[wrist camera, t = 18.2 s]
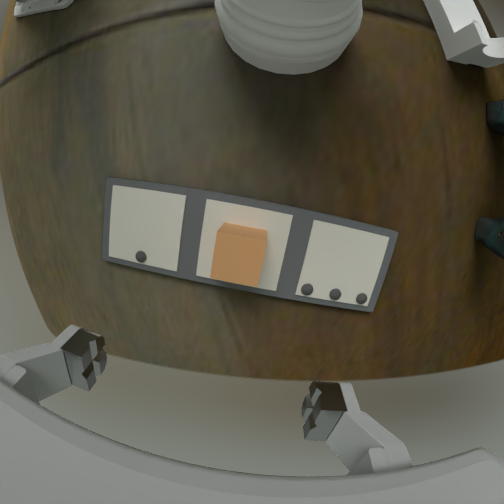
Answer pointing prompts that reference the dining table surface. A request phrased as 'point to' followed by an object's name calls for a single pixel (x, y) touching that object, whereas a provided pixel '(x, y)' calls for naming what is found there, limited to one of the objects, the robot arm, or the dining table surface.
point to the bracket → (464, 33)
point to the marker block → (238, 254)
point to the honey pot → (289, 31)
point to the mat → (251, 215)
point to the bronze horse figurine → (487, 230)
